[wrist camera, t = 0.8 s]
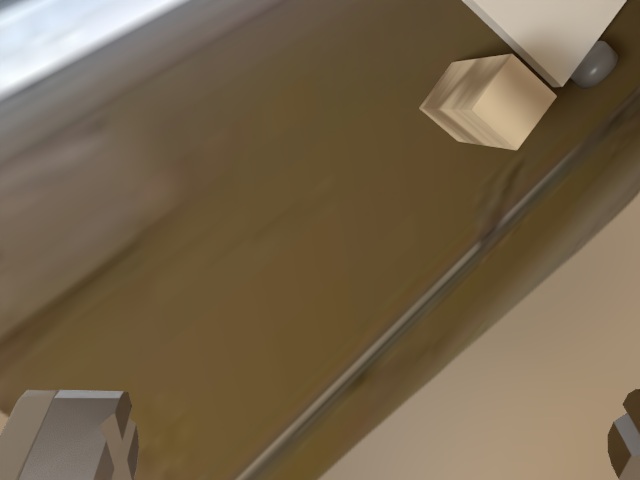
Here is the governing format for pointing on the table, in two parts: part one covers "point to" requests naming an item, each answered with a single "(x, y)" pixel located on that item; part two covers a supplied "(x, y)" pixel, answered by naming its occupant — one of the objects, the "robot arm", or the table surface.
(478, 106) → the block
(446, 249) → the table surface
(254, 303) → the table surface
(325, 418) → the table surface
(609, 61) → the chassis
